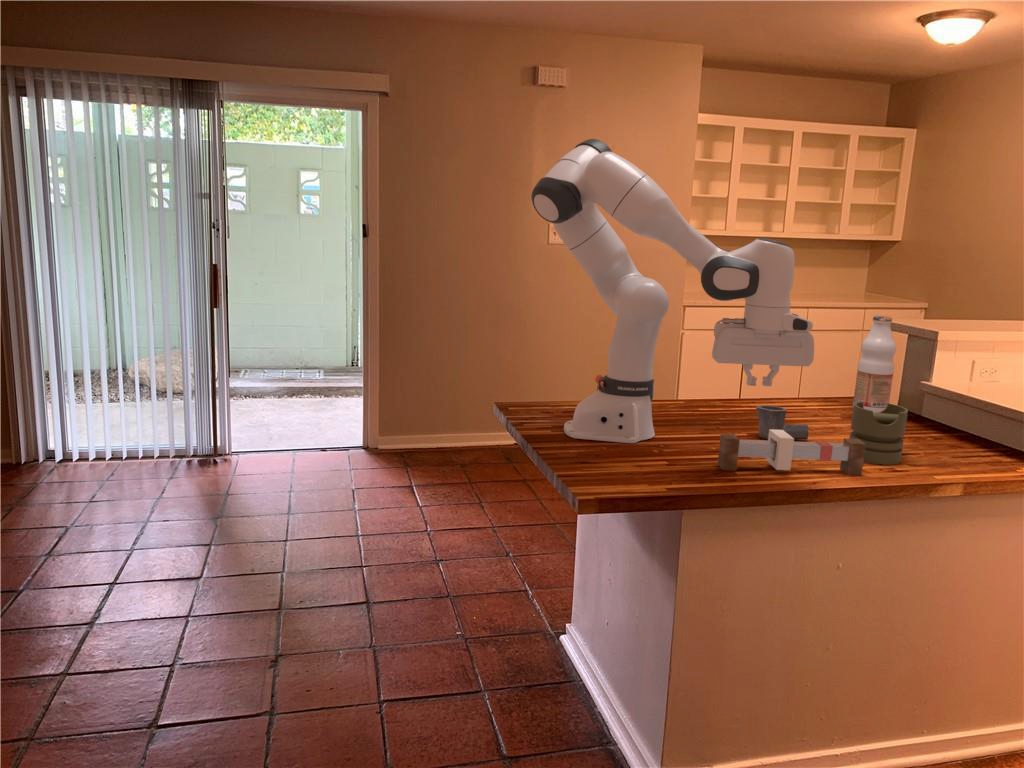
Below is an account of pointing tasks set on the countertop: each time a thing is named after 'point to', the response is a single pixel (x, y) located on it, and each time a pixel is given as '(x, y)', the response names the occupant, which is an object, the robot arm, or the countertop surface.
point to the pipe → (778, 423)
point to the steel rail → (795, 450)
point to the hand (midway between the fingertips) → (758, 385)
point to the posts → (850, 467)
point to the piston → (880, 432)
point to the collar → (781, 449)
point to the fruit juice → (876, 366)
